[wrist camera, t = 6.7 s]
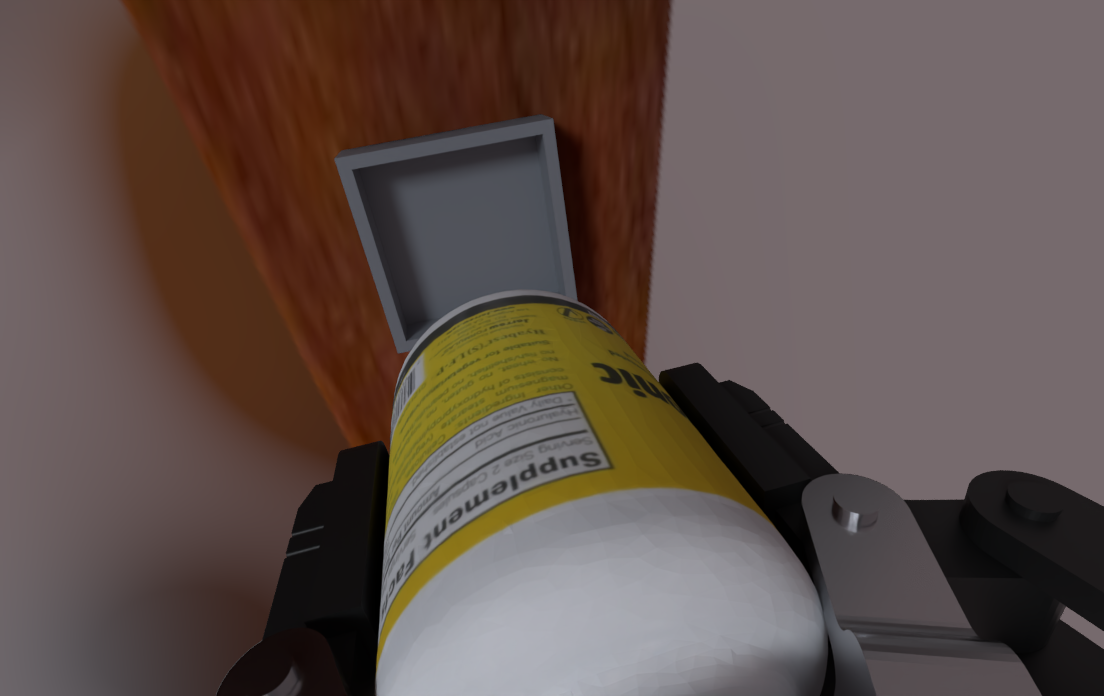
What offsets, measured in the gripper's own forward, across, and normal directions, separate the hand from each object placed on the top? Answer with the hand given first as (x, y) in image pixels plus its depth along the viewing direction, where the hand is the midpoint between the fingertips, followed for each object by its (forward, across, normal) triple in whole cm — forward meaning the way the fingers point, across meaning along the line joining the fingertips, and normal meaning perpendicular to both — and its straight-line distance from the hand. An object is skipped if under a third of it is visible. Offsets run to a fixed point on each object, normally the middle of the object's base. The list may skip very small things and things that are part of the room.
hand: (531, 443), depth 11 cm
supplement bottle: (+2, 0, 0) cm, 2 cm away
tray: (+17, 0, 0) cm, 17 cm away
